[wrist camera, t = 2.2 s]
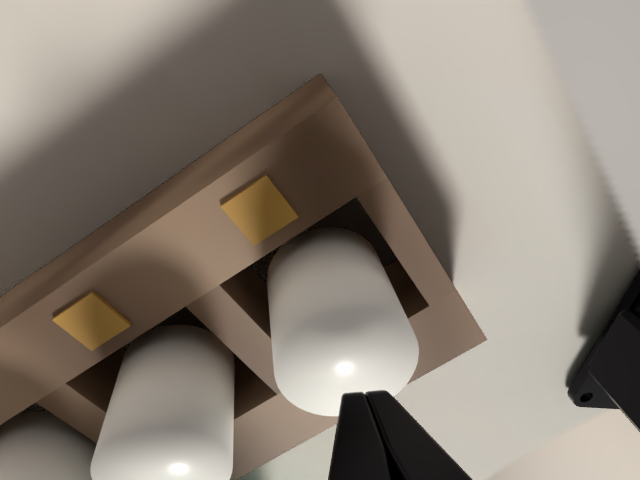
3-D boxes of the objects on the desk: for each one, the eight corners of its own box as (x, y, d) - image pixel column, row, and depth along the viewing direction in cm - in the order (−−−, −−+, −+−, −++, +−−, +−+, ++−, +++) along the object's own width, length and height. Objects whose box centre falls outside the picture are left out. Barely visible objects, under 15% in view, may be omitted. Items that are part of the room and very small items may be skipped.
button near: (343, 205, 12) (374, 277, 9) (400, 286, 13) (442, 371, 10) (243, 269, 12) (242, 357, 10) (308, 341, 14) (324, 435, 11)
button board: (320, 73, 12) (338, 98, 10) (453, 288, 16) (488, 342, 13) (-109, 372, 14) (-174, 447, 12) (97, 496, 18) (76, 571, 16)
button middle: (186, 305, 13) (170, 401, 10) (255, 372, 14) (259, 471, 11) (97, 362, 13) (58, 469, 10) (173, 421, 14) (157, 529, 12)
